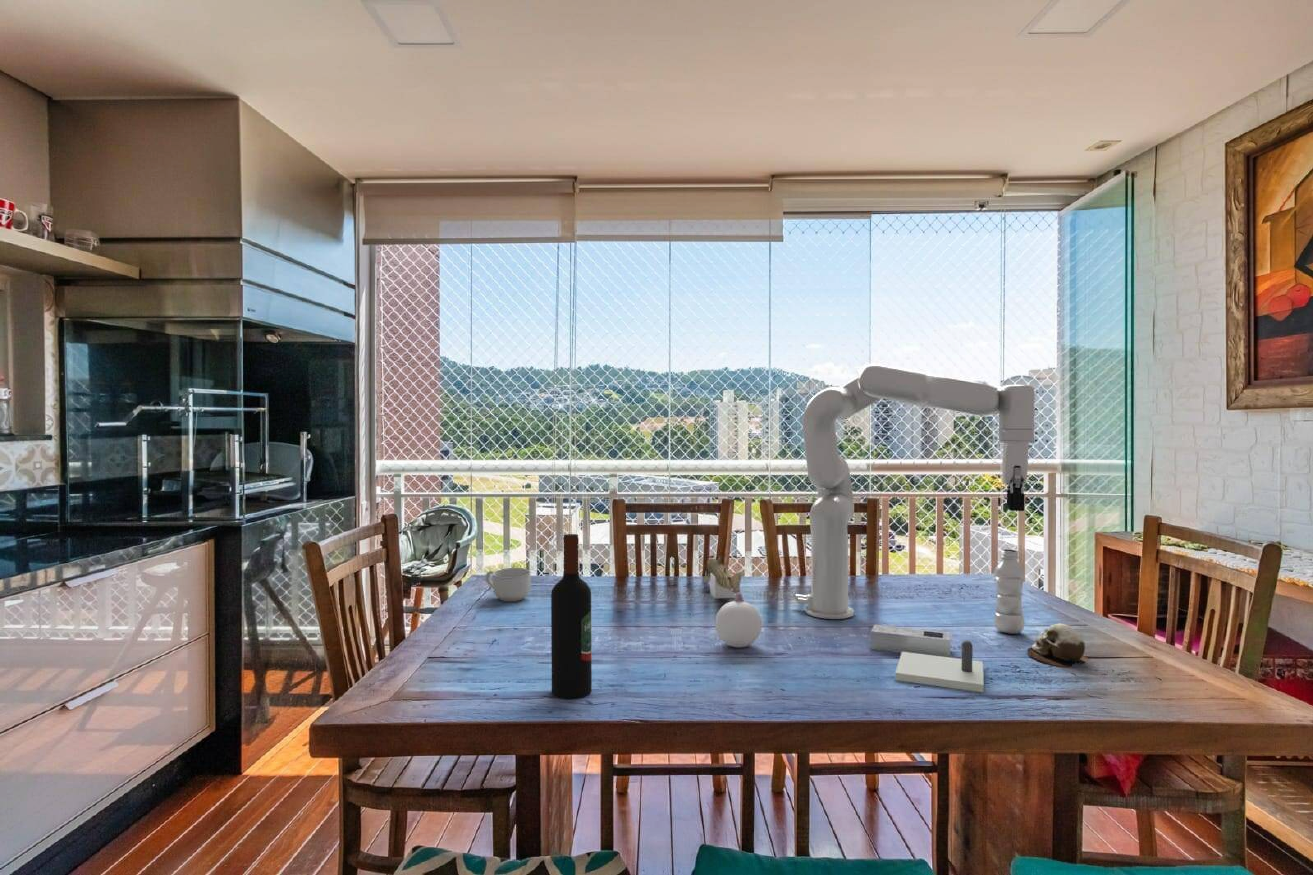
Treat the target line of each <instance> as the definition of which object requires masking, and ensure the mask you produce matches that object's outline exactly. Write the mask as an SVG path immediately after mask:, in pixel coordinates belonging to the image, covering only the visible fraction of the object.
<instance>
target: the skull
mask: <svg viewBox="0 0 1313 875" xmlns="http://www.w3.org/2000/svg"><path fill="white" fill-rule="evenodd" d="M1035 639H1036V642H1034V643H1032V645H1031V647H1028V649H1027V654H1028V655H1029V656H1030V658H1033V659H1035V660H1036V661H1037V660H1038V661H1040V662H1042V663H1046V664H1047V665H1051V666H1057V667H1062V668H1063V667H1064V668H1071V669H1072V668H1074V666H1075V665H1077V666H1078V665H1083V664H1084V665H1085V664H1087V665H1089V664H1091V663H1092V662H1091V660H1090V658H1088V657H1087V656H1085V655H1084V654H1085V649H1086V644H1085V641H1084V639H1083V637H1082V635H1080V634H1079V632H1077V630H1075V628H1074V627H1072V626H1070V625H1069V624H1066V623H1054V624H1051V625H1049V627H1047V628H1046V629H1044V632H1042V633H1041V635H1039V636H1038V637H1036V638H1035ZM1081 668H1082V667H1081Z"/></svg>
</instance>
